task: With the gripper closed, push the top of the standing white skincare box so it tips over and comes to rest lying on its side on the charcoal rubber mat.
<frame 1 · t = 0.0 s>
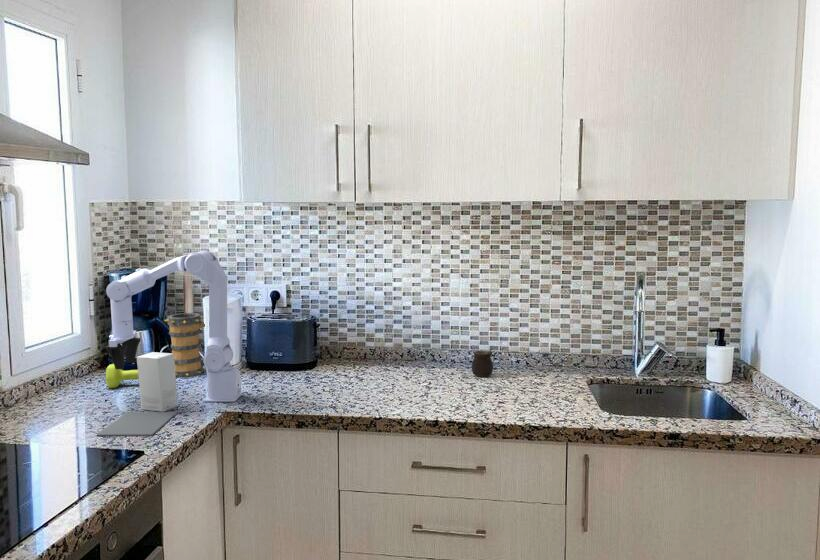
hand: (125, 365, 205), 10 cm above the worktop, tool pointing down, fingers open, 7 cm apart
charcoal rubber mat: (139, 424, 183), on the worktop
mug: (193, 373, 236), on the worktop
mate gourd: (482, 376, 228), on the worktop
skincare box: (159, 408, 197), on the worktop
dumbbell: (134, 386, 221), on the worktop
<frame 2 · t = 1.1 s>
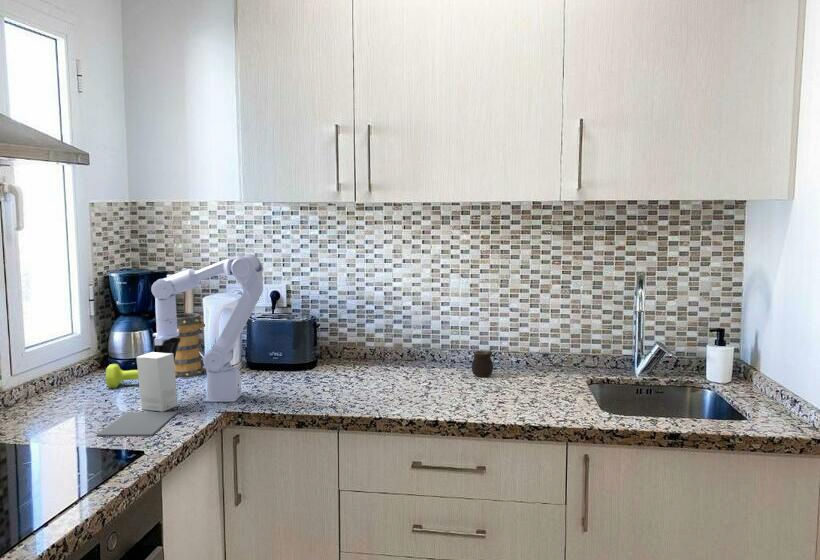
hand: (168, 364, 205), 10 cm above the worktop, tool pointing down, fingers open, 3 cm apart
nothing on the worktop moved.
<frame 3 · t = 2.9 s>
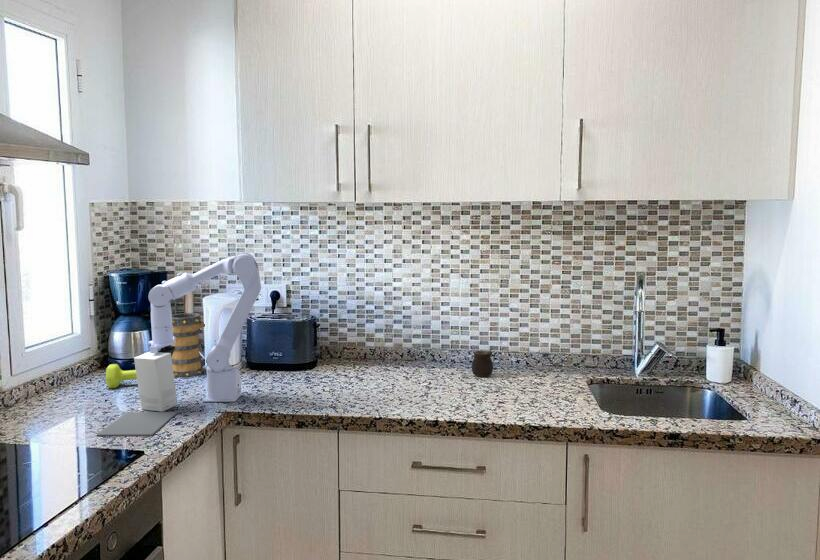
hand: (164, 372, 201), 9 cm above the worktop, tool pointing down, fingers closed
skincare box: (158, 408, 197), on the worktop, touching gripper
everything else where it was.
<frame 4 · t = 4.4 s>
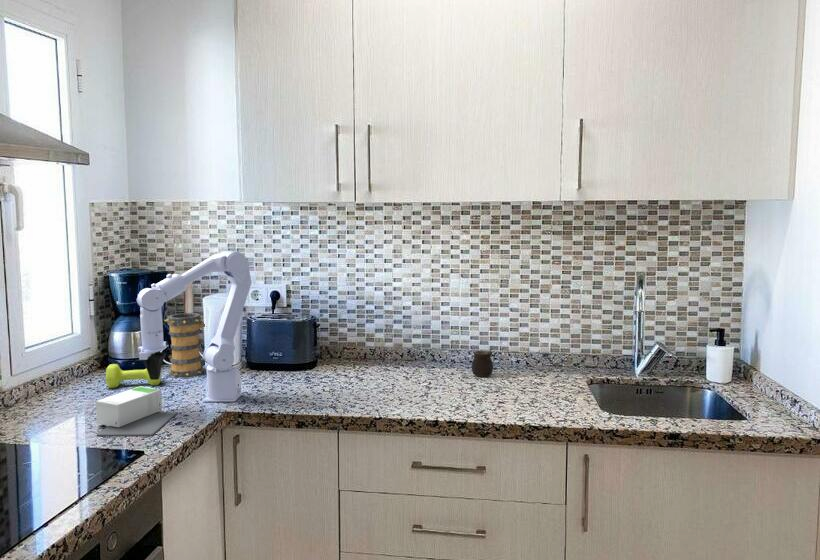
hand: (154, 379, 194), 9 cm above the worktop, tool pointing down, fingers closed
skincare box: (151, 398, 194), point 3 cm above the worktop, touching charcoal rubber mat
everything else where it was.
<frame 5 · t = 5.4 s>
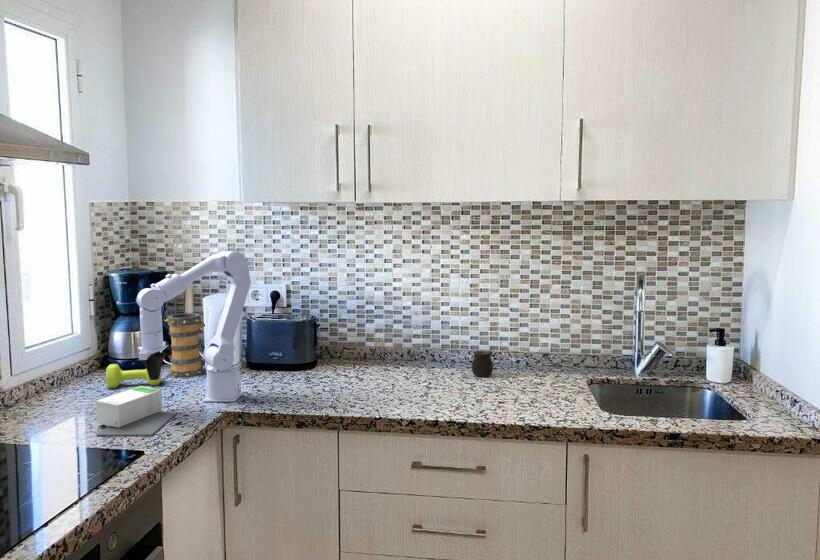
hand: (154, 379, 194), 9 cm above the worktop, tool pointing down, fingers closed
nothing on the worktop moved.
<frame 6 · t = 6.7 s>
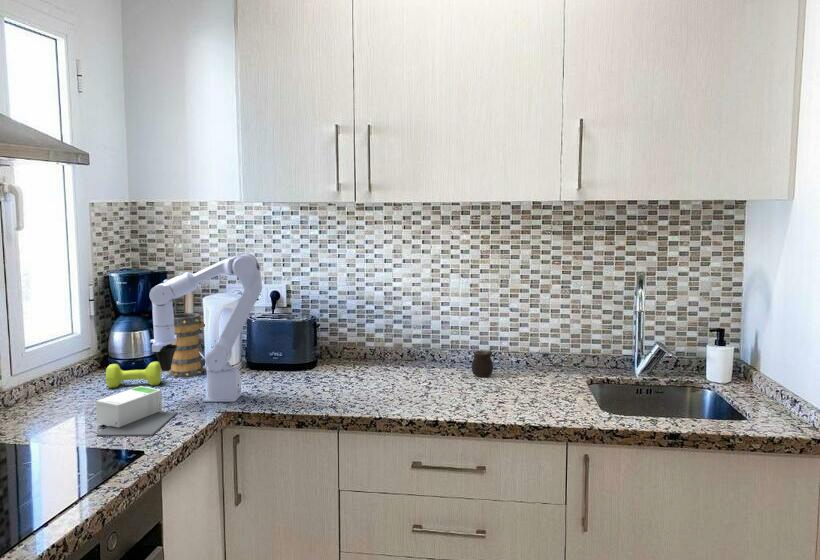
hand: (166, 370, 203), 9 cm above the worktop, tool pointing down, fingers closed
nothing on the worktop moved.
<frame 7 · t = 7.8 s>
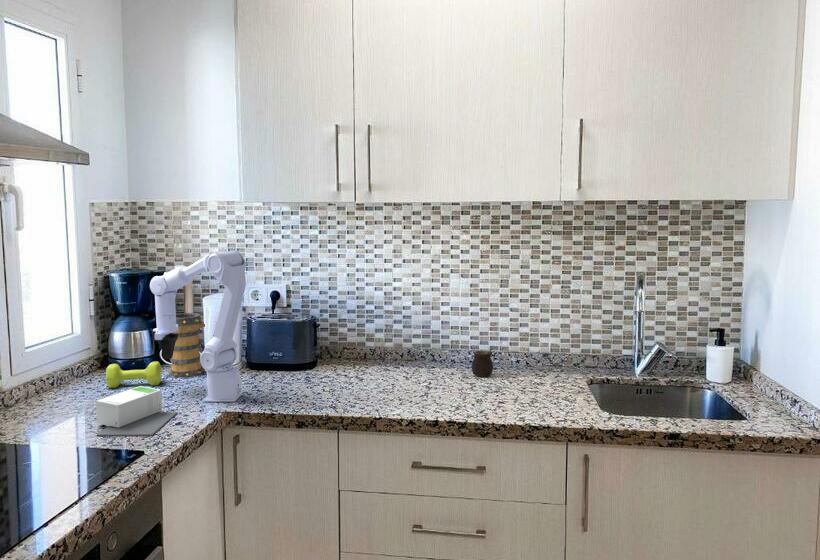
hand: (168, 358, 212), 10 cm above the worktop, tool pointing down, fingers closed
nothing on the worktop moved.
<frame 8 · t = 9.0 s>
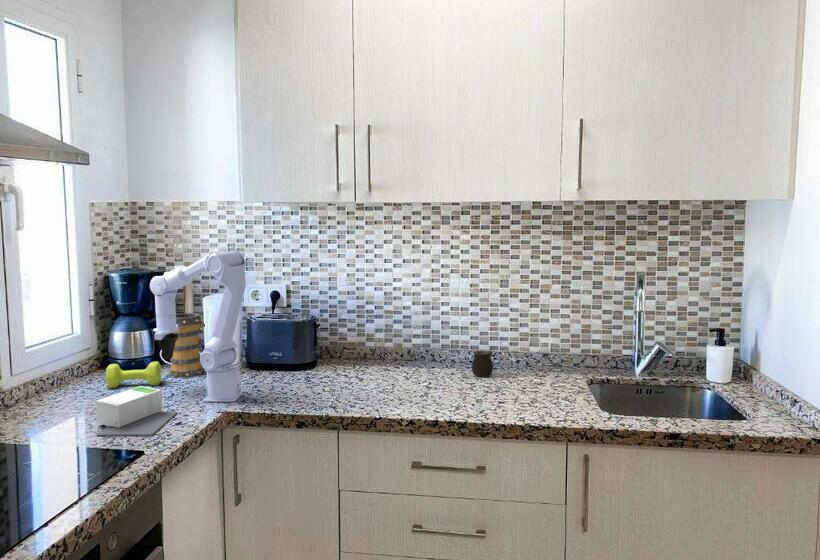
hand: (168, 358, 212), 10 cm above the worktop, tool pointing down, fingers closed
nothing on the worktop moved.
at the end: skincare box tilted 89°; skincare box inside the target area (7.6 cm from its centre), point 3.5 cm above the worktop; the gripper is holding nothing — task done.
